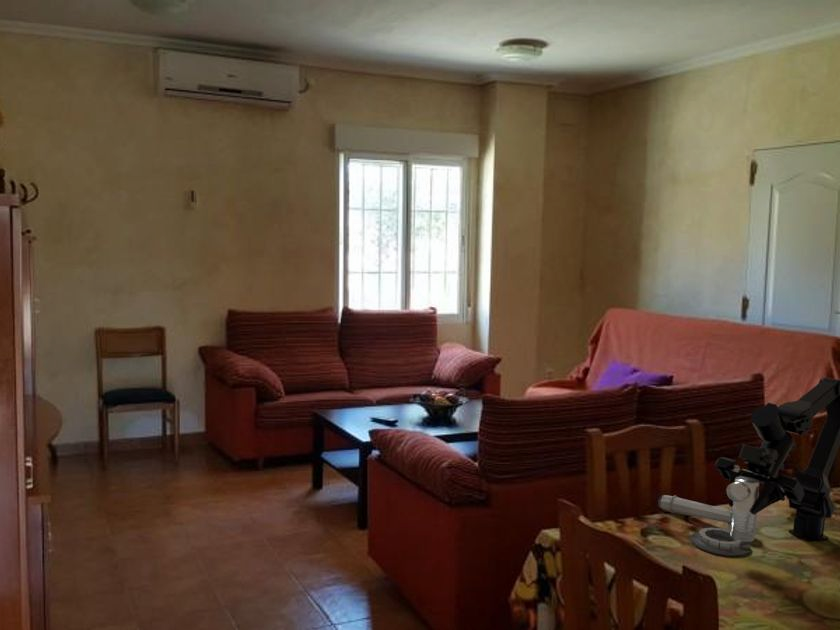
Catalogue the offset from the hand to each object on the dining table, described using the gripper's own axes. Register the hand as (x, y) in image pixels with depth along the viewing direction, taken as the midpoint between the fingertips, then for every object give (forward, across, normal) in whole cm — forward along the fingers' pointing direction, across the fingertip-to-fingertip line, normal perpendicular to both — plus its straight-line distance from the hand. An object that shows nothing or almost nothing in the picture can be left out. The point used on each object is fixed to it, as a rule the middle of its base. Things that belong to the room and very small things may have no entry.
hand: (741, 509), depth 172 cm
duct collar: (+4, -8, +13) cm, 16 cm away
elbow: (+4, 0, +6) cm, 7 cm away
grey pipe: (-2, -18, +20) cm, 27 cm away
